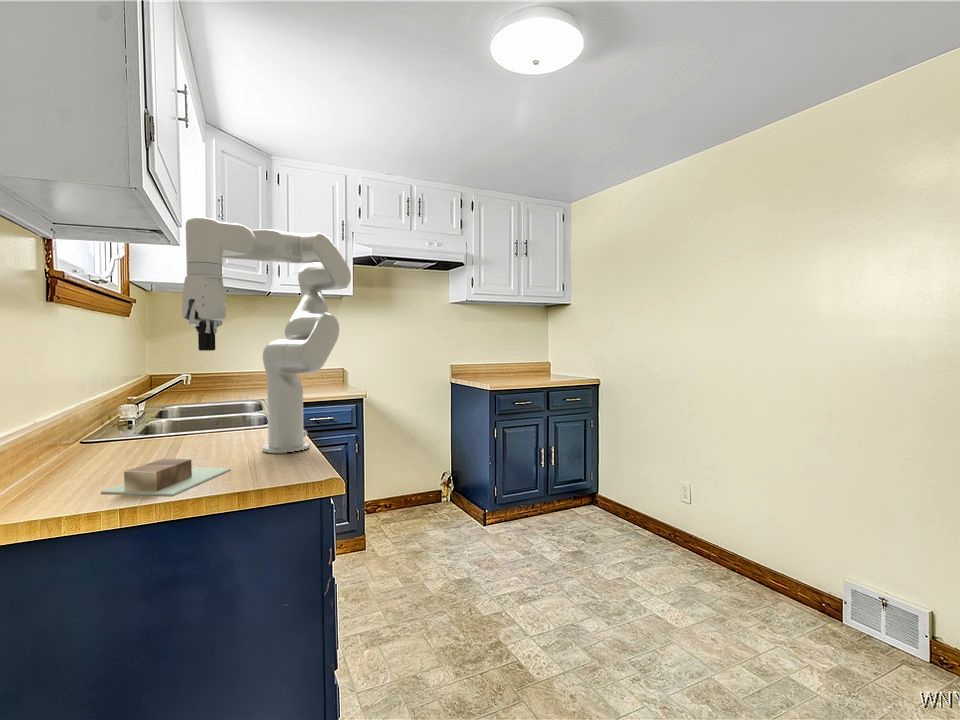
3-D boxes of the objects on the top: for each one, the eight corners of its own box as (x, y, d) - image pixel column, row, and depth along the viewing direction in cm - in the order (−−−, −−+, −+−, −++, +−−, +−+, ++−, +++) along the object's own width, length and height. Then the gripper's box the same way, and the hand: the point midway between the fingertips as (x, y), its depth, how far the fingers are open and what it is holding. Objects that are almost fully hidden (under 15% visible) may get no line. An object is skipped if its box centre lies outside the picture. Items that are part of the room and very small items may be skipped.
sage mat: (169, 468, 125) (169, 466, 125) (230, 470, 124) (230, 468, 124) (100, 493, 106) (100, 491, 106) (172, 495, 104) (172, 493, 104)
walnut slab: (162, 458, 117) (124, 471, 106) (191, 459, 116) (155, 472, 105) (163, 475, 117) (124, 490, 106) (191, 476, 116) (155, 491, 105)
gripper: (210, 276, 128) (211, 349, 129) (167, 268, 113) (169, 351, 114) (238, 275, 127) (240, 349, 128) (199, 268, 112) (201, 351, 113)
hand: (207, 350), depth 121 cm, fingers closed
